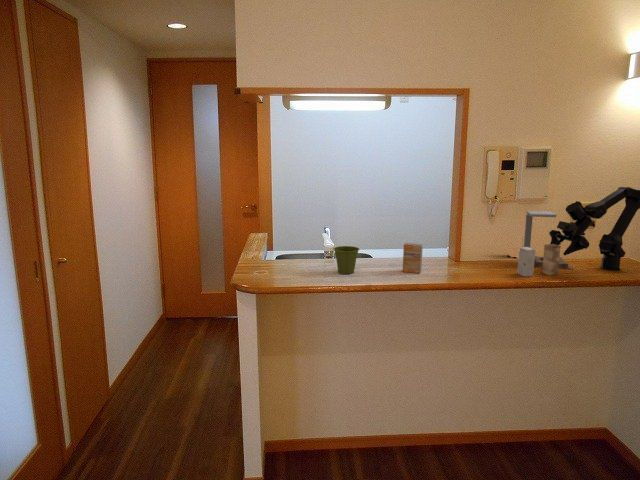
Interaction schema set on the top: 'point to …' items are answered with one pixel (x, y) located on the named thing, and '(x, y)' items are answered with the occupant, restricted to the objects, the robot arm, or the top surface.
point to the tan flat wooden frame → (562, 263)
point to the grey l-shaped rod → (529, 223)
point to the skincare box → (526, 261)
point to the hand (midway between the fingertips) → (556, 252)
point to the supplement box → (412, 258)
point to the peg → (551, 259)
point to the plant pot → (346, 258)
